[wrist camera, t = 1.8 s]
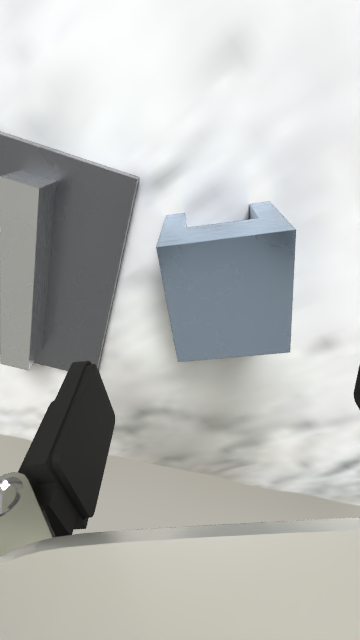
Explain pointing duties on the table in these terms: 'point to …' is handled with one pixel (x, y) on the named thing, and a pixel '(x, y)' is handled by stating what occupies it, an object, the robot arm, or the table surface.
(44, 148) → the rail
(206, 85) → the table surface
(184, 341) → the blue-grey slotted block
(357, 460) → the table surface
